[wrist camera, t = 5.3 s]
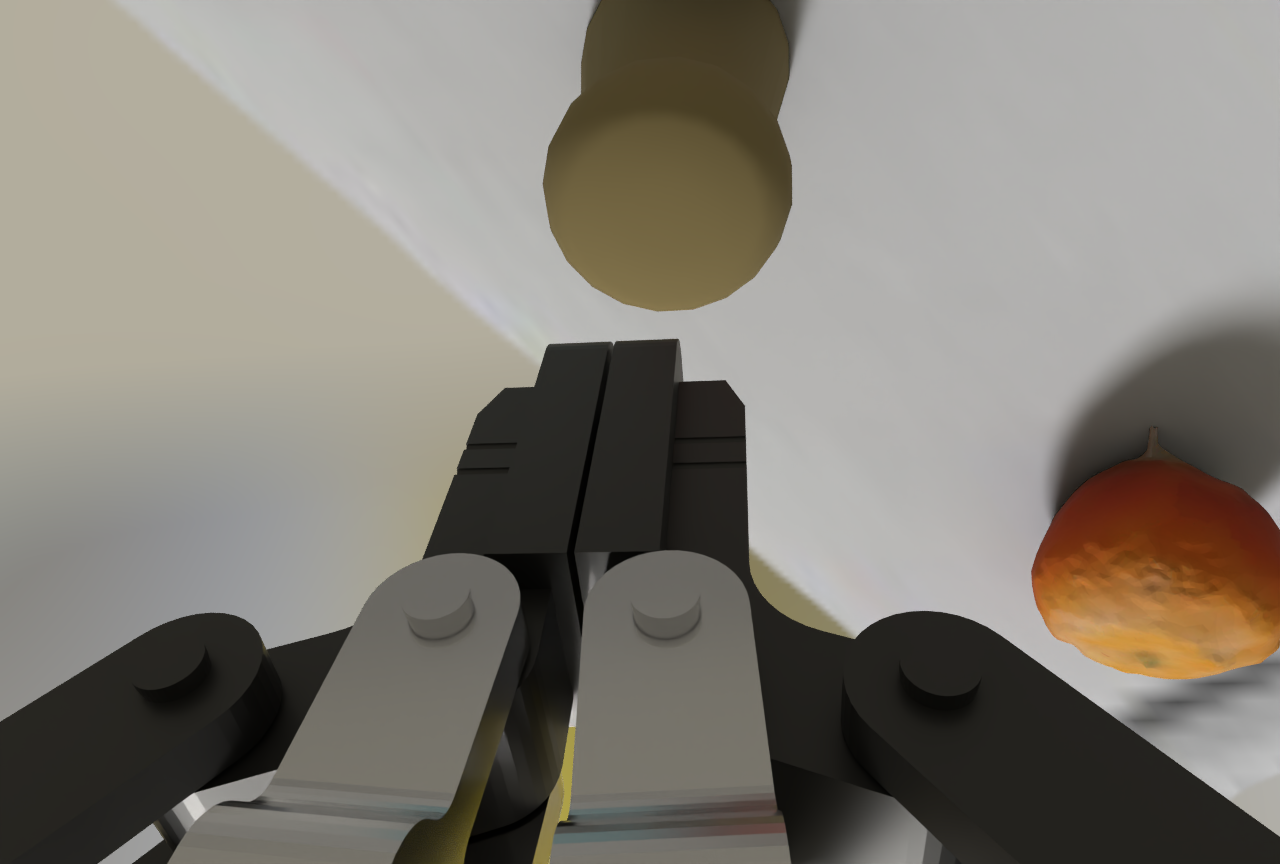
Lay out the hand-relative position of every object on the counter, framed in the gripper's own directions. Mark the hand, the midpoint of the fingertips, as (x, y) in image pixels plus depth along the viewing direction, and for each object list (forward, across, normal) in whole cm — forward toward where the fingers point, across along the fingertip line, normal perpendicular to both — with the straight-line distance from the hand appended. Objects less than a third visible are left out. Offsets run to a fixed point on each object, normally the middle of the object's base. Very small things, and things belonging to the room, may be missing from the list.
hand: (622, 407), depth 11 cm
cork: (+19, 0, +1) cm, 19 cm away
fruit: (+19, -15, +18) cm, 31 cm away
